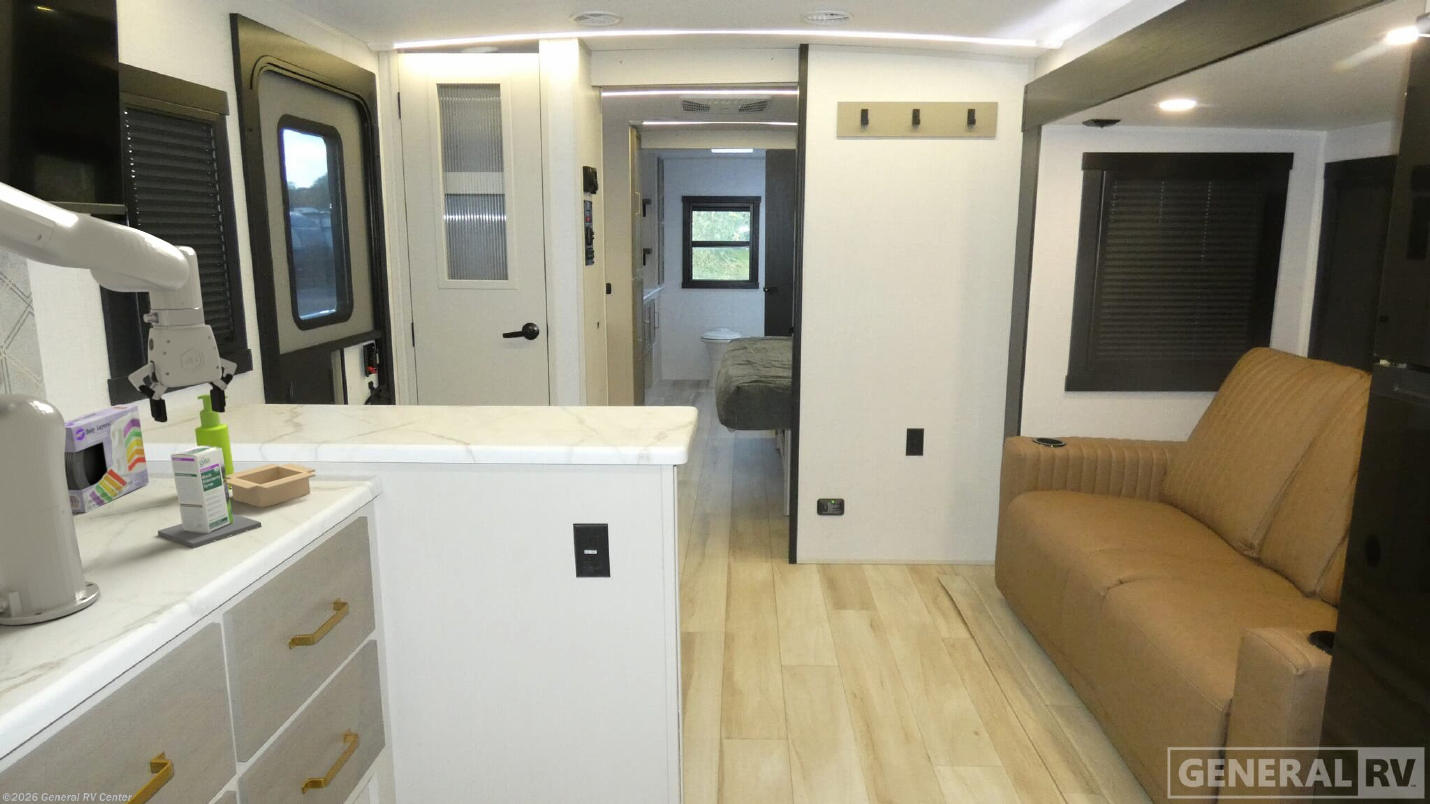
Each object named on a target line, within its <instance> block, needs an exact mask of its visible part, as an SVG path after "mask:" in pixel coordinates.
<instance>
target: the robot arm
mask: <svg viewBox="0 0 1430 804" xmlns="http://www.w3.org/2000/svg"><path fill="white" fill-rule="evenodd" d="M0 250H3V251H5V252H8V253H11V254H14V255H16V256H20V257H23V258H25V259H27V260H31V261H33V262H36V263H40V264H44V265H50V266H56V267H62V268H72V269H83V270H84V269H85V270H89V271H90V272H89V273H90V274H91V276H92V278H93V280H94V281H95V282H96V283H97V284H98V285H100V286H101V287H102V288H105V289H107V290H110V291H114V292H119V293H120V292H121V293H130V292H131V293H140V292H144V293H145V292H146V293H147V292H148V293H149V294H148V295H149V301H150V309H149V311H150V312H149V313H144V314H143V321H144V322H145V323H151V325H152V326H153V328H152V327H151V328H149V332H148V342H147V364H146V365H144V366H142V367H140V368H139V369H137V370H136V371H134V372H133V373H130V374H129V375H128V376H127V377H128V380H129V382H130V383H131V384H132V385H133V387H135V390H136V391H137V392H139V393H140V394H141V395H143V396H144V397H145V398H146V399H149V408H150V409H149V410H150V415H151V417H152V418H153V419H154V420H153V421H154V422H159V423H162V424H163V423H167V422H168V413H167V406H166V400H165V398H162V397H163V395H164V393H166V391H167V389H168V388H177V387H179V388H180V387H186V386H192V385H201V384H208V385H209V386H210V387H212V388H211V389H210V390H209V394H210V398H211V406H212V411H214V412H219V414H221V413H225V412H226V406H227V400H226V398H225V395H226V392H225V391H226V390H227V389H228V386H229V384H230V383H231V382H232V380H233V379H234V375H235V372H236V370H237V366H238V365H237V363H235V362H233V361H230V360H227V359H224V358H222V357H220V354H219V349H218V345H217V341H216V338H215V336H214V332H213V330H212V326H211V325H210V324H205V314H204V308H203V299H202V298H203V297H202V291H201V281H200V274H199V273H200V272H199V265H198V257H197V252H196V251H195V249H194V248H192V247H191V246H186V245H173V244H171V243H170V242H167V241H165V240H163V239H161V238H159V237H156V236H154V235H152V234H150V233H147V232H144V231H141V230H139V229H136V228H133V227H129V226H127V225H123V224H119V223H115V222H112V221H108V220H104V219H102V218H98V217H94V216H91V215H88V214H83V213H80V212H76V211H72V210H68V209H65V208H62V207H60V206H57V205H55V204H53V203H49V202H48V201H46V200H42V199H41V198H39V197H36V196H34V195H32V194H29V193H27V192H24V191H21V190H20V189H17V188H15V187H12V186H11V185H8V184H6V183H3V182H1V181H0ZM222 367H223V368H224V370H223V372H222ZM147 376H149V379H150V382H151V383H152V384H151V385H150V386H148V385H147V384H145V382H144V378H146V377H147ZM3 382H4V374H3V371H2V369H1V367H0V390H1V389H2V386H3ZM65 422H66V421H65V419H64V417H63V414H62V413H61V410H59V409H58V408H57V407H56V406H55V405H54V404H52V403H51V402H49V401H48V400H45V399H43V398H42V397H37V396H33V395H29V394H21V393H19V394H18V393H0V624H1V625H8V626H9V625H10V626H19V625H20V626H21V625H29V624H31V625H32V624H37V623H42V622H47V621H51V620H54V619H55V620H56V619H59V618H62V617H65V616H69V615H70V614H73V613H76V612H79V611H80V610H82V609H85V608H86V607H89V606H91V605H92V604H93V603H94V602H96V601H97V600H98V599H99V597H100V596H101V589H100V585H99V584H97V583H95V582H92V581H87V580H86V579H85V575H84V570H83V563H82V559H81V553H80V548H79V542H78V536H77V532H76V525H75V521H74V520H75V519H74V515H73V514H74V513H72V508H71V503H70V498H69V492H68V486H67V480H66V473H65V459H64V456H65V439H66V427H65Z"/></svg>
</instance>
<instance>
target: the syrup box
mask: <svg viewBox="0 0 1430 804" xmlns="http://www.w3.org/2000/svg"><path fill="white" fill-rule="evenodd" d="M170 460H171V465H172V472H173V473H172V474H173V478H174V484H175V488H176V496H177V501H178V505H179V513H180V517H181V524H182V525H183V530H184V531H190V532H198V533H210V532H212V531H214V530H216V529H218V528H221V527H223V526H226V525H228V524H231V523H233V516H232V513H233V512H232V511H233V510H232V505H231V499H230V491H229V489H228V484H227V478H226V472H225V465H224V459H223V453H222V448H220V447H215V446H197V445H196V446H193V447H191V448H189V449H185V450H182V451H179V452H175V453H172V454H170Z"/></svg>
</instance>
